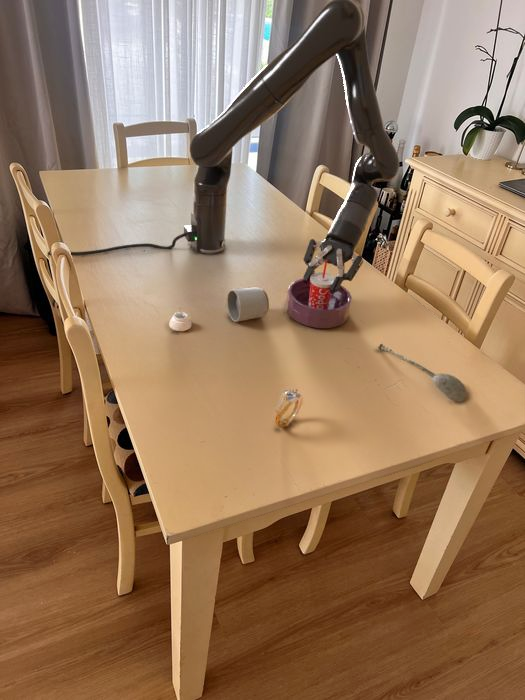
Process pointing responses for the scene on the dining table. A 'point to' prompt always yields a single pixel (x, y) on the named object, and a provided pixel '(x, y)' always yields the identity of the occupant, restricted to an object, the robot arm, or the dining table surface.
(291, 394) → the ring
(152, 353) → the dining table surface
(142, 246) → the robot arm
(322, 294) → the beverage cup
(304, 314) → the bowl
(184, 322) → the white jar
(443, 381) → the soupspoon
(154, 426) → the dining table surface
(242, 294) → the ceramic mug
